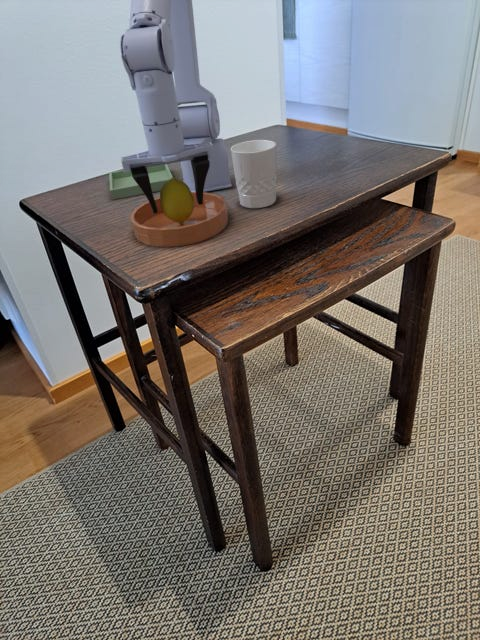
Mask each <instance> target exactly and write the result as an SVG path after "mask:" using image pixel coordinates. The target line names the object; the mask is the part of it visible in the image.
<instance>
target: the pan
mask: <svg viewBox="0 0 480 640" xmlns="http://www.w3.org/2000/svg"><path fill="white" fill-rule="evenodd" d="M191 193H192V196H193V200H194V208H193V212H192V214H191V216H190V217H189V218H188V219H187V220H185V221H184V223H183V224H179V223H177V222H174V221H172V220H170V219H168V218H167V217H166V216H165V214H164V213H163V211H162V208H161V203H160V196H159V197H156V198H154V200H155V203H156V207H157V211H158V213H155V214H154V213H153V209H152V207H151V205H150V203H149V201H148V200H147V201H146V202H144V203H142V204H140V205H139V206H138V207H136V208H135V209H133V212H131V214H130V222H131V226H132V230H133V234H134V236H135V238H136V240H137V241H139V242H140V243H142V244H144V245H147V246H152V247H157V248H158V247H160V248H161V247H162V248H172V247H183V246H188V245H189V246H190V245H192V244H196V243H200V242H203V241H205V240H208V239H210V238H213V237H215V236H216V235H218V234H219V233H221V232H222V231H223V230H224V229H225V228H226V227H227V226H228V222H229V214H228V206H227V205H228V204H227V202H226V200H225V199H224V197H222V196H220V195H218V194H215V193H211V192H203V204H202V205H199V204H198V202H197V198H196V192H191Z"/></svg>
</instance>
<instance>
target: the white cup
mask: <svg viewBox="0 0 480 640" xmlns="http://www.w3.org/2000/svg"><path fill="white" fill-rule="evenodd" d="M230 154H231V161H232V166H233V167H232V168H233V174H234V178H235V185H236V190H237V193H238V198H239V204H240V206H242V207H243V208H246V209H261V208H266V207H269V206H272V205H273V204H275V203H276V201H277V176H278V175H277V173H278V171H277V143H276V142H275V141H273V140H268V139H254V140H247V141H243V142H242V141H241V142H238V143H236V144H233V145H232V146H231V147H230Z"/></svg>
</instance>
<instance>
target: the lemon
mask: <svg viewBox="0 0 480 640" xmlns="http://www.w3.org/2000/svg"><path fill="white" fill-rule="evenodd" d="M183 181H184V180H183ZM183 181H182V180H180V179H177V178H176V177H173V178H171V179H170V181H168V182H166V183H165V184H164V185H163V187H162V189H161V191H159V192H160V193H159V197H160V203H161V208H162V211H163V213H164V214H165V216H166V217H167V218H168V219H170V220H172V221H174V222H177V223H179V224H183V223H184V221H185V220H187V219H188V218H189V217H190V216H191V214H192V212H193V208H194V200H193V196H192V193H191V191H190V189H189V187H188V186H187V184H185V183H184V182H183Z"/></svg>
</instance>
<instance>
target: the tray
mask: <svg viewBox="0 0 480 640" xmlns="http://www.w3.org/2000/svg"><path fill="white" fill-rule="evenodd" d="M147 171H148V175H149V180H150V184H151V189H152V193H156V192H161V189H162V187H163V185H164V184H165V183H166V182H168V181H170V179H171V178H174V177H173V174H172V172H171V170H170V167H169V164H165V165H159V166H154V167H148V168H147ZM108 177H109V178H108V179H109V192H110V196H111V200H119V199H122V198H123V199H124V198H129V197H135V196H140V195H145V194H144V192H143V191H142V189H141V188H140V187H139V185H138V184H137V183H136V182H135V180H134V179H133V177H132V172H127V173H124V170H123V169H121V170H116V171H110V172H109V173H108Z"/></svg>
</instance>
